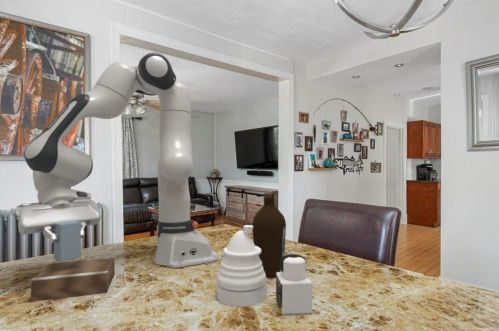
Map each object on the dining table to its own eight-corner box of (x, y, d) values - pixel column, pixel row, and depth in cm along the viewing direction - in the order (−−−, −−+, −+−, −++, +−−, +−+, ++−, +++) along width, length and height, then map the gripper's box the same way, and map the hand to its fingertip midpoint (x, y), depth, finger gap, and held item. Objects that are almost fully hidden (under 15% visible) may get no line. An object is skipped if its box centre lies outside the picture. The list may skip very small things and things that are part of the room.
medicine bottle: (275, 300, 71) (275, 252, 72) (304, 299, 72) (303, 251, 72) (281, 315, 64) (281, 261, 64) (312, 313, 65) (312, 260, 65)
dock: (114, 274, 89) (114, 257, 89) (106, 292, 76) (107, 272, 76) (51, 280, 84) (51, 262, 84) (30, 301, 71) (31, 280, 71)
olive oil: (253, 278, 86) (253, 194, 86) (251, 266, 96) (251, 191, 96) (288, 278, 86) (288, 194, 86) (283, 266, 97) (283, 191, 97)
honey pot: (271, 288, 79) (271, 222, 79) (257, 310, 66) (257, 232, 67) (228, 282, 83) (228, 220, 83) (207, 302, 71) (207, 228, 71)
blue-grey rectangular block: (73, 254, 84) (73, 220, 84) (80, 257, 81) (81, 222, 81) (53, 258, 80) (54, 222, 80) (60, 262, 77) (61, 225, 77)
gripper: (15, 197, 77) (24, 239, 71) (95, 192, 93) (108, 226, 86) (11, 212, 80) (19, 254, 74) (90, 205, 96) (102, 239, 89)
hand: (68, 239), depth 80 cm, fingers closed on blue-grey rectangular block, 5 cm apart
